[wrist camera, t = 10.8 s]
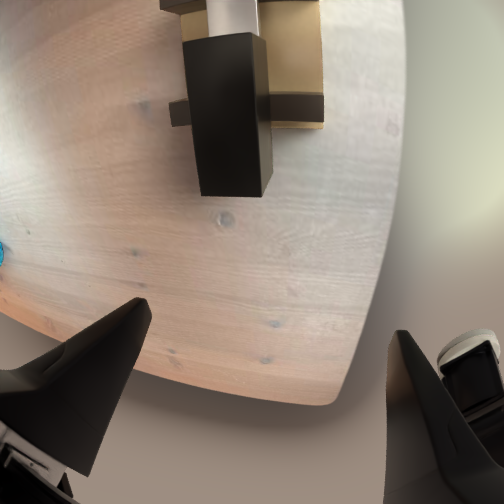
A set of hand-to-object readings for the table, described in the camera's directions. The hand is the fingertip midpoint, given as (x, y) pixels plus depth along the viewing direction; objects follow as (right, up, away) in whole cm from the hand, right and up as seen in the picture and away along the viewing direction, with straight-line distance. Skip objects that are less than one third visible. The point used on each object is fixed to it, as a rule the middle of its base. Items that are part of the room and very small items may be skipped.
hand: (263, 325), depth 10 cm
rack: (0, +14, +4) cm, 15 cm away
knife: (-1, +12, +2) cm, 13 cm away
